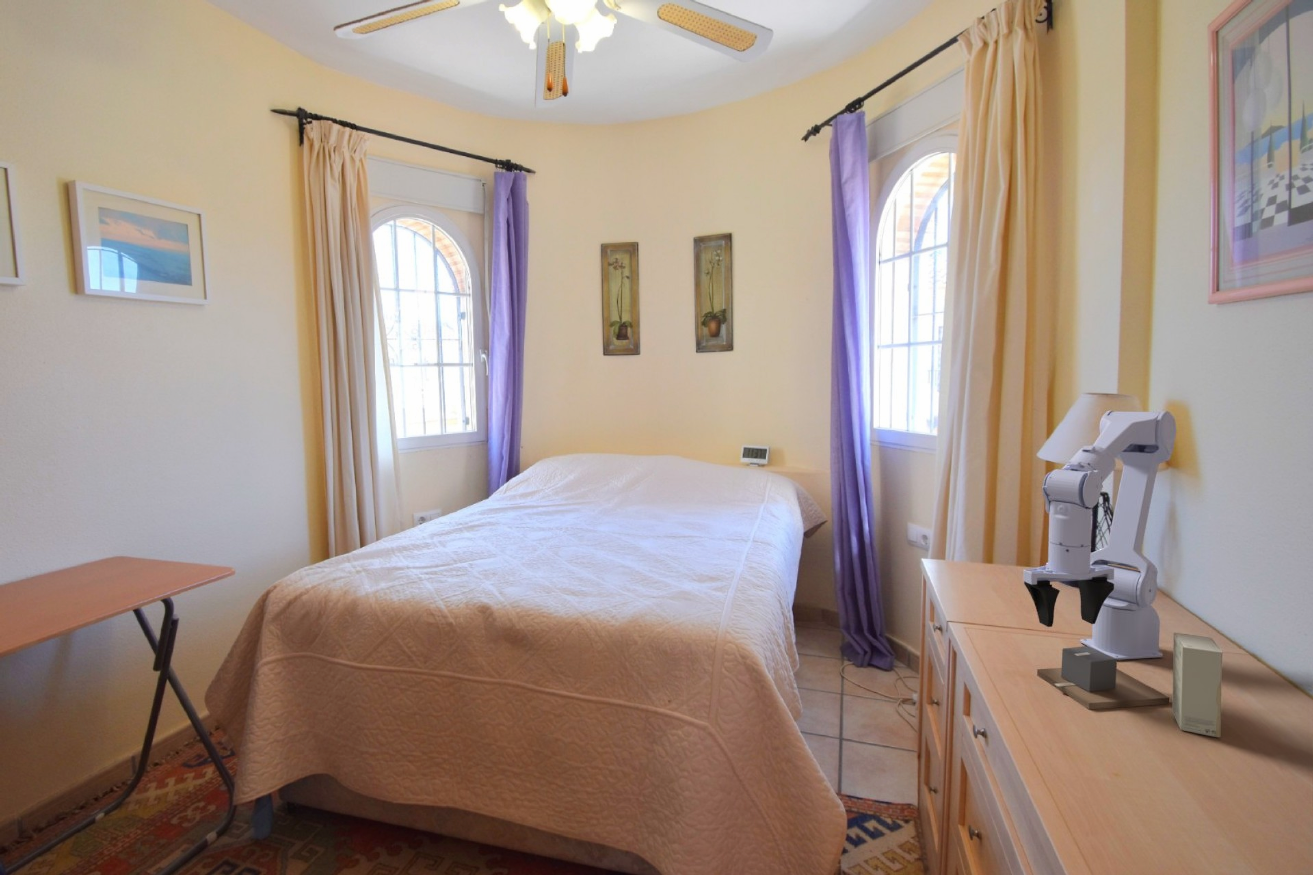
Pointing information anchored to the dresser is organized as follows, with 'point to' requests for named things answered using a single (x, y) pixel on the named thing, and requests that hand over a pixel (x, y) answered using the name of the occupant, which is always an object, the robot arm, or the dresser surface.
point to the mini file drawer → (1089, 668)
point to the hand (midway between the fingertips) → (1067, 623)
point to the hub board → (1107, 691)
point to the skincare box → (1197, 684)
